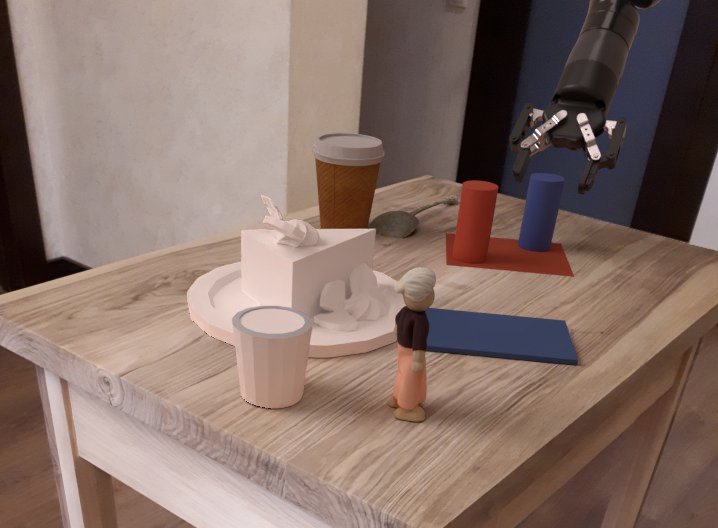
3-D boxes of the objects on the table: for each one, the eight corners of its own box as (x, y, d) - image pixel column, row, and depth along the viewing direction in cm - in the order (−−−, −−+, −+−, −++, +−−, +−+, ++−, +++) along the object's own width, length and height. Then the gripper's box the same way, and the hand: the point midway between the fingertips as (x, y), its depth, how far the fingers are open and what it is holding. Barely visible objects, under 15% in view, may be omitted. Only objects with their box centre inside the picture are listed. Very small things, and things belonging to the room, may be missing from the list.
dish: (258, 378, 73) (257, 258, 67) (152, 286, 90) (143, 182, 83) (460, 330, 85) (477, 223, 79) (334, 256, 102) (339, 163, 95)
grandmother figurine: (443, 424, 69) (465, 282, 61) (403, 430, 67) (420, 286, 60) (405, 384, 74) (421, 249, 67) (368, 389, 73) (379, 252, 66)
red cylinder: (485, 253, 104) (497, 182, 99) (487, 264, 101) (499, 191, 95) (452, 250, 104) (462, 178, 99) (452, 261, 101) (463, 188, 96)
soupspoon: (359, 238, 110) (399, 252, 107) (361, 214, 108) (402, 227, 105) (435, 200, 125) (472, 211, 122) (438, 178, 122) (476, 189, 120)
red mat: (560, 247, 110) (561, 243, 110) (573, 281, 100) (574, 276, 99) (444, 237, 111) (445, 232, 110) (445, 269, 100) (446, 264, 100)
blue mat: (564, 325, 88) (565, 320, 88) (577, 365, 80) (578, 359, 79) (420, 311, 89) (420, 306, 88) (418, 350, 81) (419, 344, 80)
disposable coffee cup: (347, 219, 115) (353, 129, 108) (392, 237, 109) (401, 144, 102) (295, 229, 110) (297, 135, 102) (338, 249, 104) (344, 152, 97)
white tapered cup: (224, 380, 73) (222, 307, 69) (296, 371, 75) (298, 301, 71) (244, 416, 68) (243, 340, 64) (320, 406, 70) (323, 332, 66)
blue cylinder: (548, 242, 109) (562, 174, 104) (552, 253, 106) (567, 183, 101) (516, 239, 110) (529, 171, 104) (519, 250, 106) (532, 179, 101)
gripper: (537, 50, 105) (494, 158, 103) (646, 64, 100) (603, 177, 98) (540, 90, 112) (500, 191, 110) (642, 104, 107) (602, 211, 105)
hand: (548, 185), depth 104 cm, fingers open, 8 cm apart
